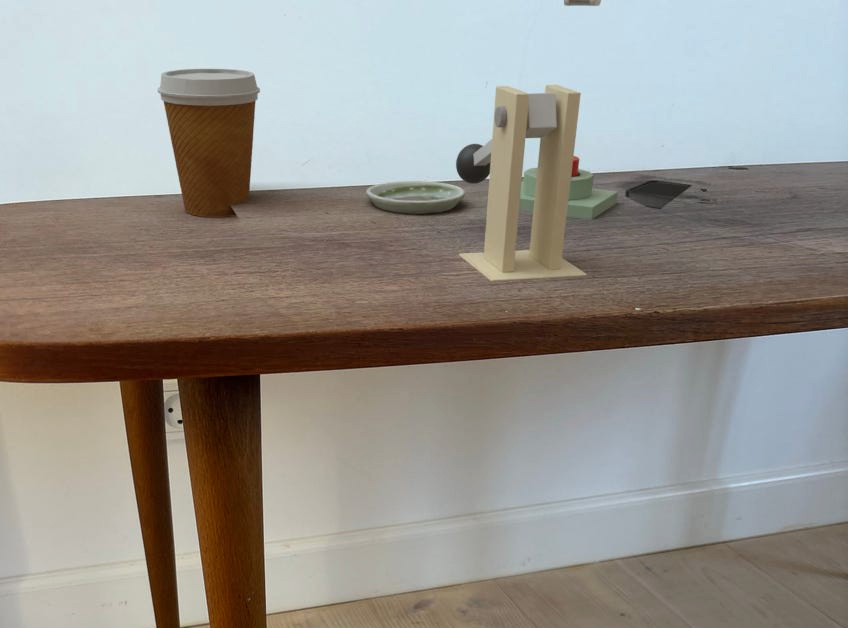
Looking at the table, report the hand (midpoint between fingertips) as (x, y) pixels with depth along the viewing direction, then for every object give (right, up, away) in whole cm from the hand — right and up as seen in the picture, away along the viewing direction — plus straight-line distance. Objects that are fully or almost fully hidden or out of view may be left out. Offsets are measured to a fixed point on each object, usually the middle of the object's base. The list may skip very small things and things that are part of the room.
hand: (581, 5), depth 95 cm
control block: (-1, -15, +10) cm, 18 cm away
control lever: (-8, -18, -8) cm, 21 cm away
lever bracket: (-7, -28, -9) cm, 30 cm away
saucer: (-15, -15, +9) cm, 23 cm away
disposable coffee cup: (-34, -14, +10) cm, 39 cm away
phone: (+15, -12, +14) cm, 24 cm away
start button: (-1, -12, +8) cm, 14 cm away
